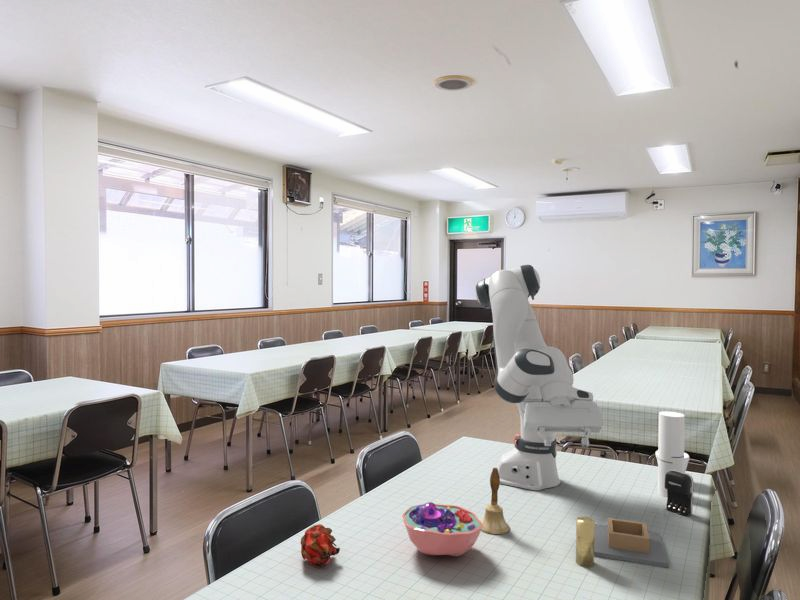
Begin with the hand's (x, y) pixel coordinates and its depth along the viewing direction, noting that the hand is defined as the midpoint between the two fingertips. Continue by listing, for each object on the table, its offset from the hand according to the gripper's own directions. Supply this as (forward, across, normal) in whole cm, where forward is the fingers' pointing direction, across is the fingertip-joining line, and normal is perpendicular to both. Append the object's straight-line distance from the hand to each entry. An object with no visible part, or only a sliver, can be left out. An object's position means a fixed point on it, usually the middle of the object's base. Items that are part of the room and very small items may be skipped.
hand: (566, 445), depth 135 cm
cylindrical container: (-5, +39, +39) cm, 56 cm away
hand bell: (+14, -18, +20) cm, 30 cm away
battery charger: (+4, +35, +30) cm, 46 cm away
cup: (-13, +44, +47) cm, 66 cm away
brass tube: (+26, +1, +8) cm, 27 cm away
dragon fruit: (+28, -61, +5) cm, 67 cm away
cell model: (+24, -32, +10) cm, 41 cm away
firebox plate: (+19, +14, +15) cm, 28 cm away
